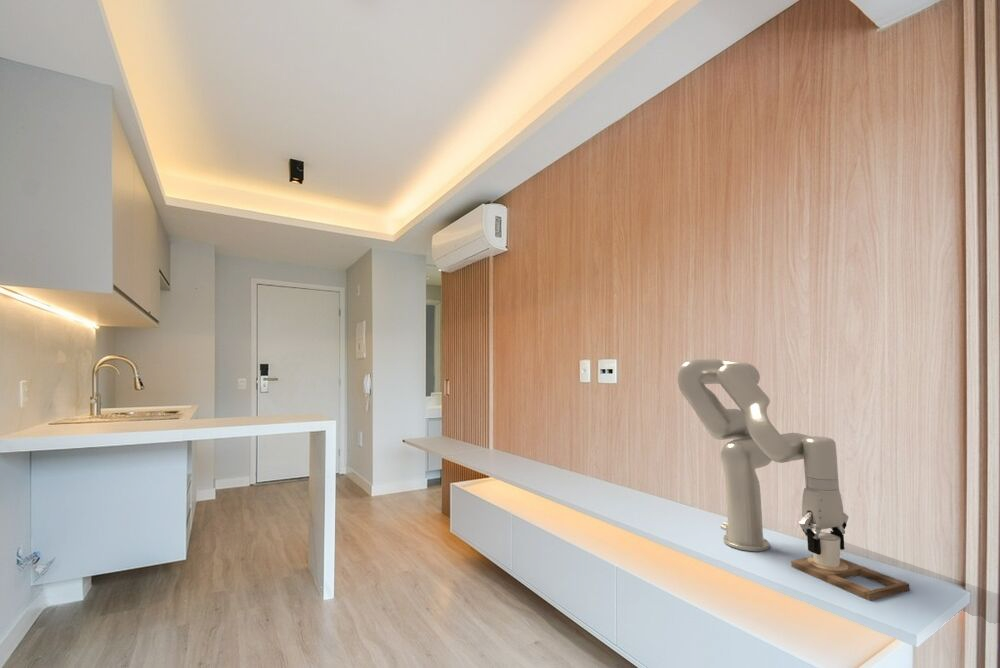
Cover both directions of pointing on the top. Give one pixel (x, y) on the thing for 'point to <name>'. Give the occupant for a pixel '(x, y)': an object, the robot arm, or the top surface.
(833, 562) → the cream short cylinder
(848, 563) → the pocket board
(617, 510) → the top surface
